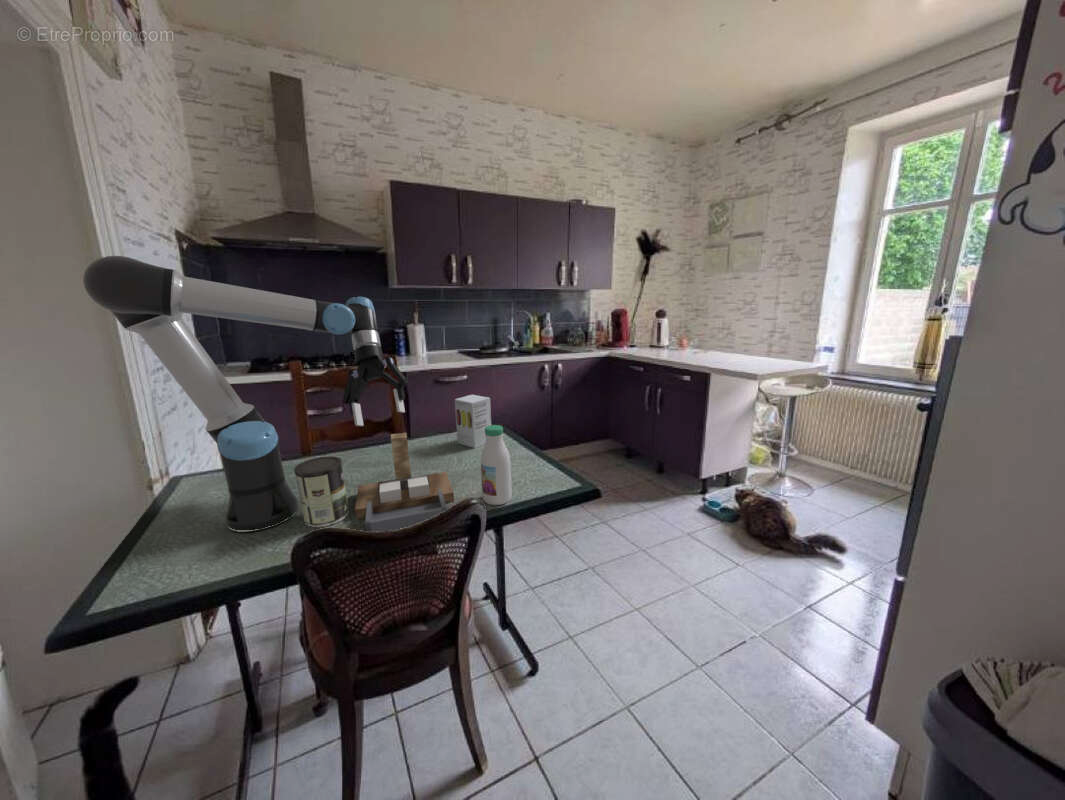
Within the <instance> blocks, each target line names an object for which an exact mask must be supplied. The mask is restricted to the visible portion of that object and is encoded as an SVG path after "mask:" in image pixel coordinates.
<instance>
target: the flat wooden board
mask: <svg viewBox="0 0 1065 800" xmlns="http://www.w3.org/2000/svg"><path fill="white" fill-rule="evenodd" d="M428 476H429V492H430V495H426V496H420V497H415V498H410V496H409V488H408V489H402V490H401V498H402V500H397V501H391V502H386V503H381V500H380V493H379V488H378V482H372V483H366V484H360V485H358V486H357V493H356V494H357V495H356V499H355V506H354V512H355V519H356V520H357V519H364V518H366V509H367V502H370V501H372V508H373V514H374V513H379V512H385V511H390V510H396V509H401V508H407V507H413V506H418V505H424V504H429V503H435V502H439V501H438V490H440V489H441V490H442V493H443V496H444V500H445V503H451V502H455V496H454V495H455V494H454V489H453V488H452V484H451V482H450V478H449V476H448V473H447V471H443V472H435V473H430V474H428Z"/></svg>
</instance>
